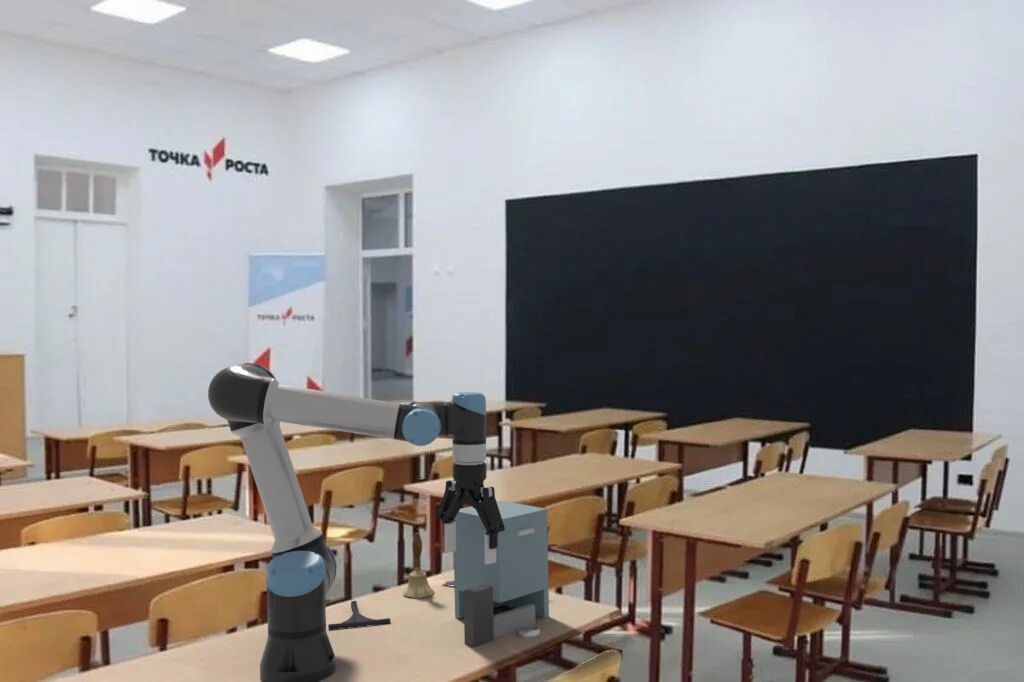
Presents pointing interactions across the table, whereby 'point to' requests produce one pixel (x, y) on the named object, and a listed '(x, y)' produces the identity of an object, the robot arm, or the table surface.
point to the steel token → (528, 631)
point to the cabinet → (504, 558)
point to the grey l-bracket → (491, 617)
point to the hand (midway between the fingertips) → (469, 557)
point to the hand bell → (417, 574)
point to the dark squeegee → (358, 620)
